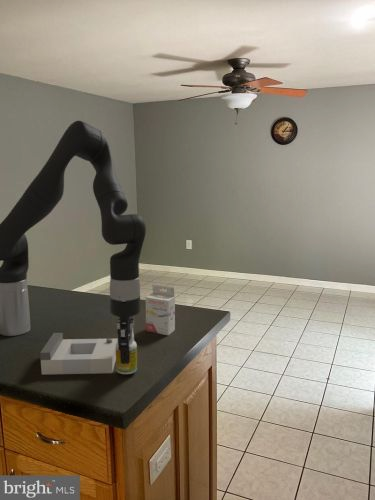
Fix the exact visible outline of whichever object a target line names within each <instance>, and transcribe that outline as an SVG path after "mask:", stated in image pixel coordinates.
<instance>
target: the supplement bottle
mask: <svg viewBox="0 0 375 500" xmlns="http://www.w3.org/2000/svg"><path fill="white" fill-rule="evenodd" d="M129 335H130V334H129ZM122 345H127V344H126V343H122ZM118 347H119V346H118V342H117V343H116V361H115V371H116V372H117V373H118V374H121V375H131V374H134V373H135V372H137V370H138V345H137V342H136V341H135V334H134V332H133V333H132V339H131V340H130V362H129V363H128V364H122V363H121V356H120V351H119V349H118Z"/></svg>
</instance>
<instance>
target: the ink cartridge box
mask: <svg viewBox="0 0 375 500" xmlns="http://www.w3.org/2000/svg"><path fill="white" fill-rule="evenodd" d="M151 286H152V293H151V294H149V295H147V296H145V331H146V332H149V333H154V334H158V335H164V336H170V335H171V334H172V333H173V332H174V331H175V330H176V327H175V326H176V320H175V319H176V317H175V316H176V305H175V304H176V297H175V288H174V287H172V286H167V285H166V286H165V285H158V284H152V285H151ZM165 290H166V291H165Z"/></svg>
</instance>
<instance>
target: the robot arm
mask: <svg viewBox="0 0 375 500" xmlns="http://www.w3.org/2000/svg"><path fill="white" fill-rule="evenodd" d="M54 148H55V149H54V150H53V151H52V153H51V155H50V156H49V158H48V159H47V160H46V162H45V164H44V165H43V166H42V168H41V169H40V170H39V172H38V174H37V175H36V176H35V177H34V179H33V180H32V181H31V182H30V184H29V185H28V186H27V188H26V189H25V191H24V192H23V194H22V195H21V197H20V198H19V199H18V201H17V202H16V204H15V205H14V206H13V207H12V209H11V210H10V212H8V214H7V216H6V217H5V218H4V219H3V220H2V221H1V222H0V262H1V261H2V264H1V265H0V335H2V336H6V337H14V336H20V335H23V334H26V333H28V332H29V331H30V330H31V318H30V317H31V315H30V314H31V313H30V304H29V290H28V276H27V274H28V271H29V266H30V265H29V262H30V261H29V242H28V239H27V238H28V237H27V236H26V232H28V231H29V230H30V229H31V228H33V227H34V226H36V225H37V224H38V223H40V222H42V220H44V219H45V218H46V217H47V216H49V214H51V213H52V212H53V210H54V209H55V207H56V206H57V205H58V203H59V202H60V201H61V200H62V198H63V196H64V191H65V190H64V189H65V171H66V169H67V167H68V166H69V163H70V162H71V161H72V160H73V158H74V157H78V158H80V159H82V160H84V161H88V162H89V163H90V164H91V165H92V167H93V168H94V170H95V176H94V179H93V183H92V191H93V194H94V197H95V200H96V203H97V205H98V207H99V211H100V217H101V218H100V219H101V236H102V238H103V240H104V241H105V242H106V243H107V244H109V245H112V246H115V245H116V246H117V245H126V246H125V248H124V249H122V251H119V252H116V253H113V254H112V255H111V257H110V259H109V269H110V270H109V271H110V272H109V274H110V278H109V279H110V282H109V310H110V314H111V315H112V316H115V317H117V318H118V319H117V321H116V328H117V331H116V333H117V338H118V346H119V347H118V349H119V351H120V356H121V363H122V364H128V363H129V362H130V340H131V339H132V333H133V334H134V329H135V328H134V325H135V318H134V316H136V315H139V313H140V312H141V283H140V264H139V263H140V257H141V254H142V248H143V245H144V242H145V237H146V233H147V228H146V223H145V220H144V218H143V217H142V216H141V215H139V214H135V213H133V214H131V213H130V214H124V213H126V211H127V209H128V207H129V206H128V205H129V204H128V200H127V197H126V196H125V193H124V191H123V189H122V186H121V184H120V181H119V179H118V176H117V174H116V170H115V165H114V160H113V156H112V152H111V146H110V142H109V140H108V137H107V135H106V134H105V133H104V132H103V131H102V130H100V129H98V128H96V127H94V126H93V125H90V124H89V123H88V122H85V121H82V120H75V121H74V122H72V123H71V124H69V126H68V127H67V129H66V130H65V132H64V133H63V135H61V137H60V139H59V141H58V143H57V145H56V146H55V147H54ZM129 334H130V335H129ZM122 343H126V344H127V345H122Z"/></svg>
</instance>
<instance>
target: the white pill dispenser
mask: <svg viewBox="0 0 375 500" xmlns="http://www.w3.org/2000/svg"><path fill="white" fill-rule="evenodd" d="M117 342H118V337H117V338H111V337H110V338H74V339H69V338H67V339H64V332H53V333H52V335H51V336H50V338H49V339H48V340H47V342H46V344H45V345H44V347H43V348H42V349H41V351H40V353H39V355H40V356H39V357H40V368H41V370H40V371H41V375H79V374H80V375H82V374H83V375H86V374H90V375H91V374H93V375H94V374H113V372H114V368H115V366H116V343H117Z"/></svg>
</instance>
